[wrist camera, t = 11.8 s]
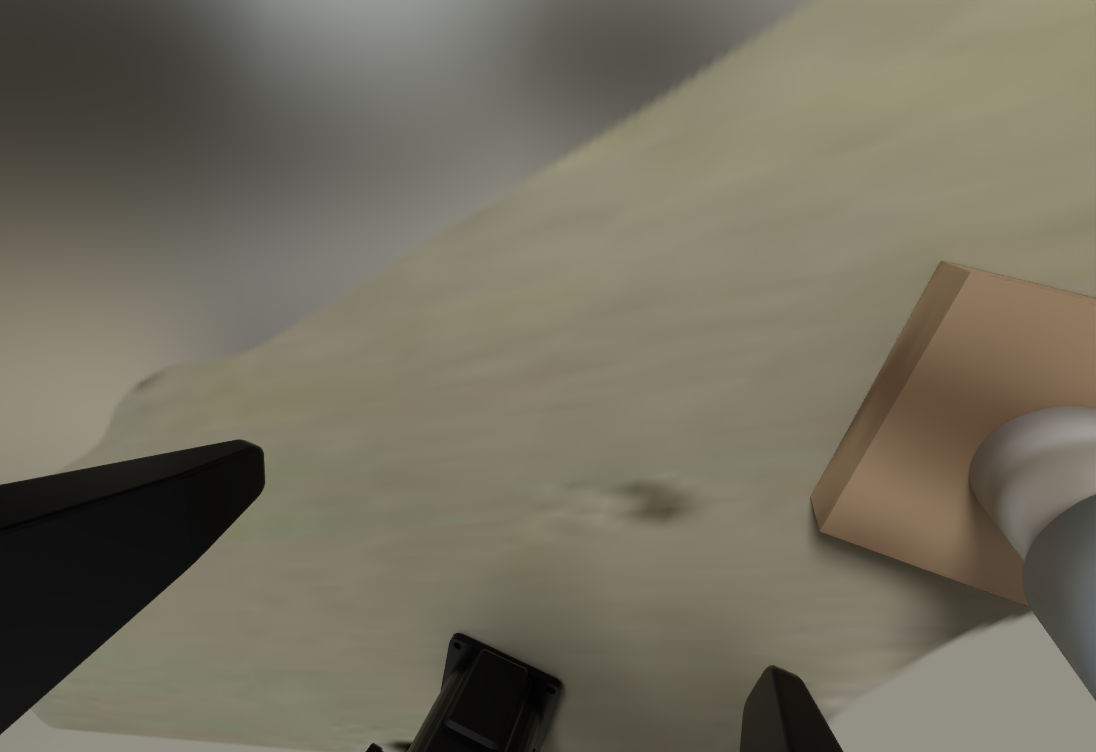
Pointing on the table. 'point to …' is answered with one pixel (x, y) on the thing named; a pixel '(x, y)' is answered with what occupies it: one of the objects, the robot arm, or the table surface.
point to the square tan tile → (971, 431)
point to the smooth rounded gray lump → (1067, 585)
